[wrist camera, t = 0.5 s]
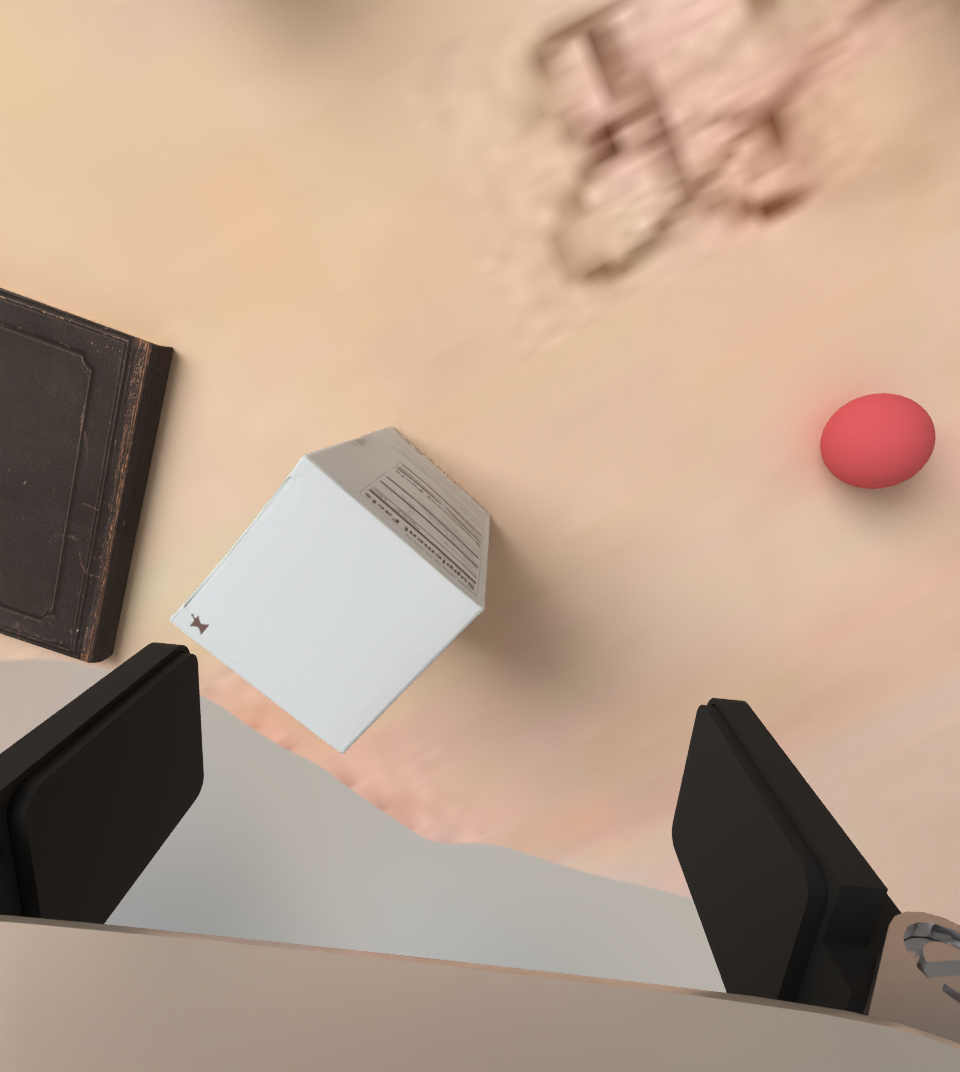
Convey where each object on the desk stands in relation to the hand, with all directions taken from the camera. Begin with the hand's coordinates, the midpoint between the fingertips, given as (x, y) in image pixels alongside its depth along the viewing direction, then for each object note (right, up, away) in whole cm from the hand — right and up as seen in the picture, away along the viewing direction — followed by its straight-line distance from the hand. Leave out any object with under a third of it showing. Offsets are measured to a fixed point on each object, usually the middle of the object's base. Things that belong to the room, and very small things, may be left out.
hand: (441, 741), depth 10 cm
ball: (+24, +9, +23) cm, 34 cm away
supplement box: (-5, +5, +28) cm, 29 cm away
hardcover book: (-30, +8, +29) cm, 43 cm away
